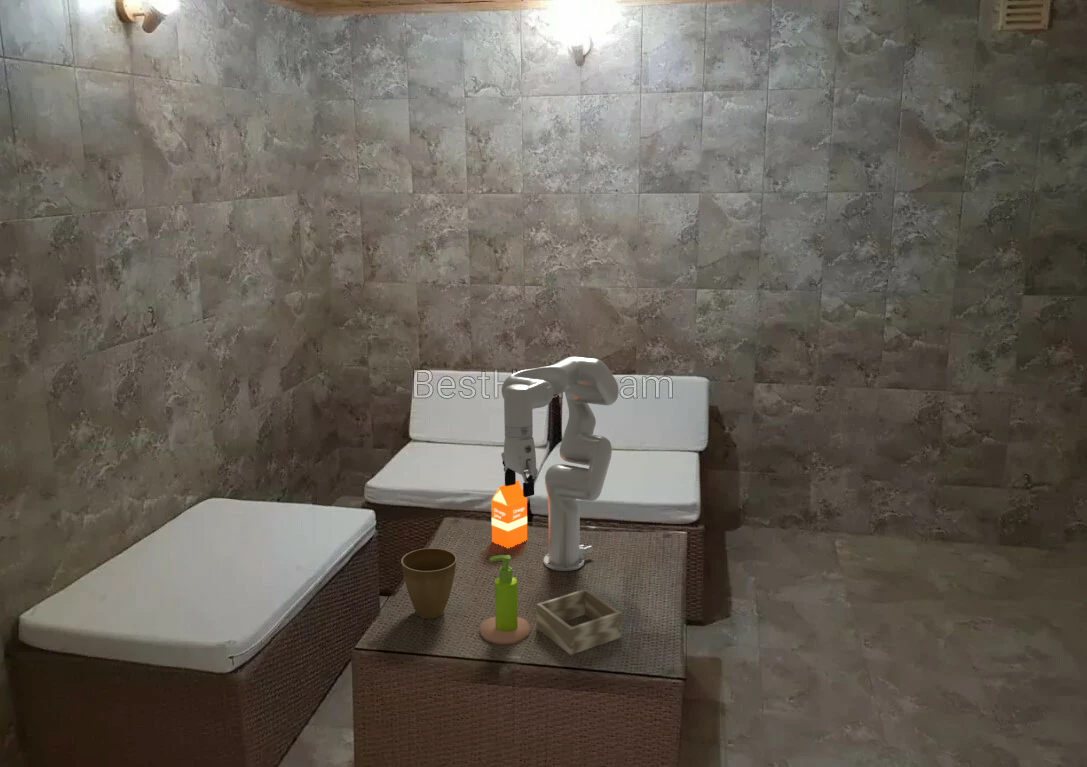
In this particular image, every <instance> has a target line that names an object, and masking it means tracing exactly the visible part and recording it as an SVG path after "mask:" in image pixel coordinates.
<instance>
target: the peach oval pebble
mask: <svg viewBox="0 0 1087 767" xmlns="http://www.w3.org/2000/svg"><path fill="white" fill-rule="evenodd" d="M530 630H531V626H530V623H529V622H528V620H526V619H524V618H523V617H520V616H518V627H517V628H516V629H515V630H513V631H508V632H504V631H500V630H498V629H497V628H496V623H495V616H492V617H489V618H487V619H486V620H484V621H483V622H482V623H481V625H480V631H479V632H480V635H481V637H482V639H484V640H485V641H487V642H489V643H492V644H497V645H511V644H516V643H520V642H522V641H523V640H526V639H527V638H528V637H529V635H530V633H531V632H530Z"/></svg>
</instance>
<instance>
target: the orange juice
mask: <svg viewBox="0 0 1087 767" xmlns="http://www.w3.org/2000/svg"><path fill="white" fill-rule="evenodd" d="M490 503H491V535H492V536H491V542H492V543H493V542H494V544H496V545H498V544H499V546H500V545H501V547H503V546H504V547H503V548H505V547H506V548H505V549H508V548H509V549H510V547H511V548H513V547H515V545H516V546H518V545H521V544H522V542H523V543H524V541H525V542H527V541H528V499H527V497H524V496H523V487H522V486H521V484H520V481H519V479H518V480H517V479H516V484H515V485H510V486H505V484H504V485H501V486H499V487H498V488H497V490H496V492H495V493H494V496H492V499H491V502H490ZM526 540H527V541H526ZM517 544H518V545H517Z"/></svg>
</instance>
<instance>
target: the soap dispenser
mask: <svg viewBox="0 0 1087 767" xmlns="http://www.w3.org/2000/svg"><path fill="white" fill-rule="evenodd" d="M489 561H490V562H492V563H493V562H497V561H499V562H500V561H501V562H502V563H501V564H502V565H501V566H499V569H498V577H497V578H495V580H494V611H495V612H494V613H495V614H494V617H495V623H496V628H497V629H498V630H500V631H504V632H508V631H513V630H515V629H516V628H517V627H518V617H519V616H518V614H519V612H518V579H517V578H516V577H514V576H513V568H512V567H511V566H510V561H512V556H511V555H509V554H500V555H493V556H490V557H489Z"/></svg>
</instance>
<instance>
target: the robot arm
mask: <svg viewBox="0 0 1087 767" xmlns="http://www.w3.org/2000/svg"><path fill="white" fill-rule="evenodd" d="M619 392H620V391H619V385H618V382H617V379H616V378H615V376H614V375H613V373H612V371H611V370H610V369H609V367H608V366H607V364H606V363H605V362H603V361H602V360H600V359H598V358H592V357H582V356H567V357H565V358H564V359H562V360H559V361H558V362H555V363H553V364H551V365H547V366H540V367H536V368H529V369H523V370H520V371H517V372H515V373H512V374H511V375H509V376H507V378H506V379H505V380H504V381H503V383H502V386H501V396H502V398H503V400H504V401H503V403H504V404H503V405H504V406H503V408H504V409H503V412H504V414H503V415H504V442H503V443H504V444H503V452H501V455H500V456H501V459H502V465H503V471H504V472H503V473H504V485H505V486H510V485H515V484H516V481H517V479H516V478H517V476H516V475H517V474H519V475H521V477H522V479H523V481H524V482H522V490H523V496H524V497H526V498H528V497H533V496H534V495H535V482H536V479H537V476H538V472H539V471H538V468H537V458H536V457H537V454H536V444H535V440H534V437H533V435H534V434H533V431H534V429H533V428H534V427H533V423H534V422H533V420H534V419H533V410H534V409H541V408H544V407H546V406H547V405H549V404H550V403H551V402H552V400H553V398H554V395H560V394H563V393H564V395H565V399H566V402H567V407H568V420H567V422H566V426H565V430H564V433H563V436H562V438H561V439H562V440H561V444H560V446H559V456H560V458H561V459H562V460H563V461H564V462H567V463H572V464H577V465H582V466H588V468H587V467H580V466H575V465H570V464H565V463H564V464H562V463H558V464H553V465H551V466H550V467H549V468H548V469H547V470H546V473H545V476H544V485H545V489H546V490H545V491H546V494H547V495H546V496H547V504H548V553H547V554H545V556H543V564H544V566H545V567H546V568H548V569H551V570H554V571H558V572H571V571H576V570H578V569H580V568H582V567H583V566H584V564H585V557H584V556H585V555H586V554H588V553H592V552H593V549H594V548H593V546H592V545H588V546H585V545H584V544H580V543H581V542H580V541H581V540H580V535H581V534H580V531H581V530H580V527H581V525H580V521H581V520H580V519H581V516H580V515H581V514H580V513H581V512H580V511H581V510H580V506H579V504H578V503H579V502H578V501H577V500H581V501H585V502H594V501H596V500H597V499H599V497H600V495H601V493H602V490H603V487H604V484H605V480H606V476H607V473H608V470H609V467H610V463H611V459H612V448H613V446H612V443H611V441H610V440H609V438H607V437H606V436H602V435H599V434H598V435H597V434H594V431H595V427H596V424H597V423H596V422H597V421H596V416H595V414H594V412H593V411H592V409H591V407H590V404H592V405H600V406H612V405H613V404H615V402H616V401H617V400H618V397H619ZM527 475H528V477H527Z"/></svg>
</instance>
